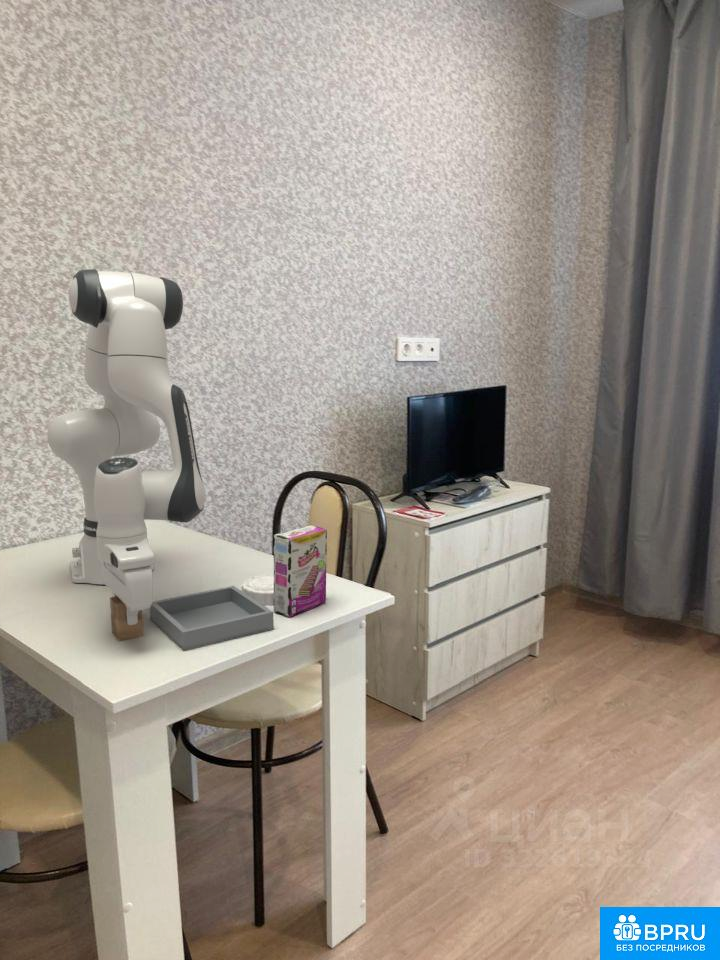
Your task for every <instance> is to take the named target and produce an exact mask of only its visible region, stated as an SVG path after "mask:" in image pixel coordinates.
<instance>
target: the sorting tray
mask: <svg viewBox="0 0 720 960" xmlns="http://www.w3.org/2000/svg"><path fill="white" fill-rule="evenodd" d="M149 620H150V621H152V622H153V623H154V624H155V625H156V626H157V627H158V628H159V629H160V630H161V631H162V632H163V633H164V634H165V635H166V636H167V637H168V638H170V639H171V641H173V642H174V643H175V645H176V646H178V647H179V648H180V649H181V650H182V651H183V652H185V651H189V650H192V649H193V650H194V649H197V648H202V647H207V646H209V645H214V644H217V643H222V642H227V641H231V640H235V639H239V638H243V637H244V638H245V637H247V636H252V635H256V634H259V633H264V632H268V631H272V630H274V629H275V628H274V627H275V626H274V610H271V609H270V608H268V607H267V606H264V605H262V604H261V603H259V602H257V601H256V600H254V599H253V598H251V597H250V596H248V595H247V594H245V593H244V592H242V589H239V588H238V587H236V586H235V585H230V586H225V587H220V588H216V589H210V590H209V589H208V590H205V591H200V592H195V593H190V594H185V595H180V596H175V597H170V598H164V599H160V600H155V601H152V604H151V607H150V608H149Z"/></svg>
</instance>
